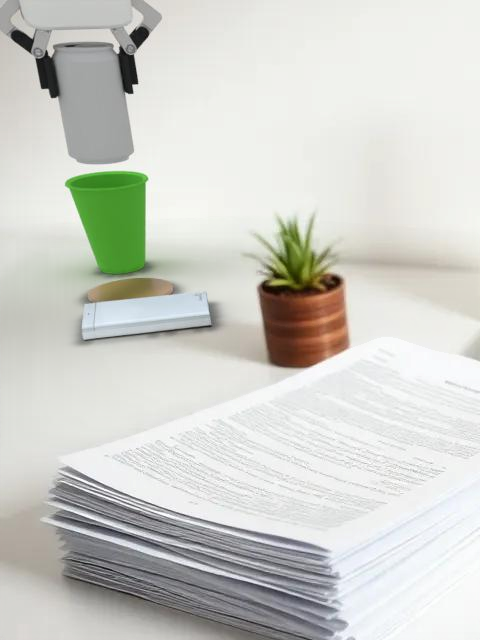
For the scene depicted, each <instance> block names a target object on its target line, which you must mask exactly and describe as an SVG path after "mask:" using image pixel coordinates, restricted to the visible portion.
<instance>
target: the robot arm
mask: <svg viewBox="0 0 480 640" xmlns="http://www.w3.org/2000/svg"><path fill="white" fill-rule="evenodd" d="M133 8H134V9H135V10H136V11H137V12H139V13H140V14H141V15H142V19H141V21H140V22H139V24H138V25H137V26H136V27H135V28H134V29H133V30H132V32H130V33H128V32H127V30H126V29H125V27H126V26H129V25H130V24H132V22H133V17H134V16H133ZM18 11H20V16H21V17H22V19H23V21H24V22H25V24H26V25H27V26H28V27H31V28H33V29H34V31H33V35H32V37H31V36H29V35H28V34H27V33H25V32H24V31H23V30H22V29H20V28H19V27H17V26H16V25H15V24H13V22H12V21H11V20H12V17H13V16H14V15H15V14H16V13H18ZM162 19H163V16H162V13H160V12H159V11H158V10H157V9H155V8H154V7H153V6H151V5H150V4H149V3H148V2H146V1H145V0H4V1H3V3H1V5H0V32H1V33H3V34H4V35H5V36H7V37H8V38H10V40H12V41H13V42H14V43H15V44H17V45H19V47H20V48H22V49H24V50H25V51H26V52H28V53H29V54H30V55H32V56H33V57H34V59H35V64H36V69H37V75H38V80H39V86H40V89H41V90H48V93H49V96H50V99H58V97H59V95H58V90H57V85H56V79H55V74H54V68H53V63H52V59H51V57H52V56H51V55H49V51H48V49H47V48H48V45H49V41H50V38H51V35H52V31H71V30H73V31H74V30H77V31H78V30H105V29H108V30H109V31H110V32H111V34H112V35H113V36H114V38H115V41H117V44H119V46H118V53H117V54H118V56H119V58H120V64H121V71H122V77H123V83H124V89H125V94H127V95H134V87H133V86H136V85H139V76H138V71H137V64H136V58H135V54H136V53H137V51H138V50H139V48H141V46H142V45H143V44H144V43H145V41H147V39H148V38H149V37H150V35H151V33H152V32H153V31H154V30H155V29H156V27H157V26H158V25H159V24H160V22H161V21H162Z"/></svg>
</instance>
